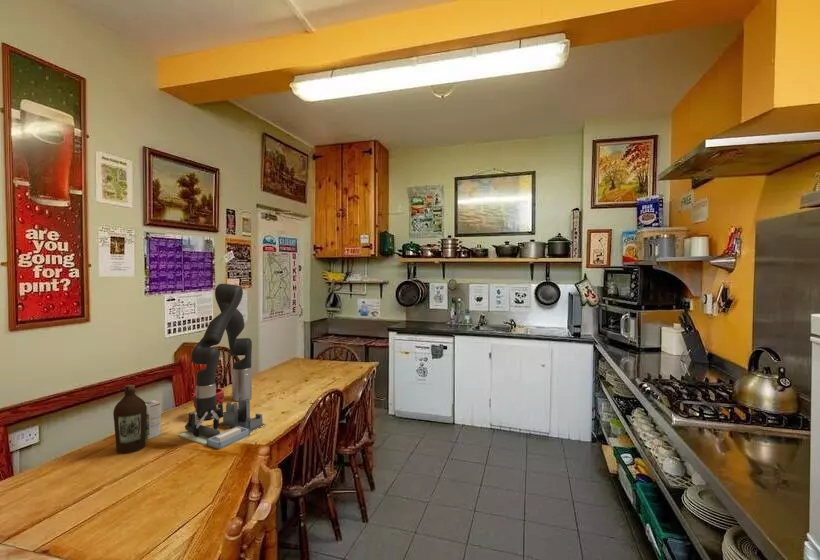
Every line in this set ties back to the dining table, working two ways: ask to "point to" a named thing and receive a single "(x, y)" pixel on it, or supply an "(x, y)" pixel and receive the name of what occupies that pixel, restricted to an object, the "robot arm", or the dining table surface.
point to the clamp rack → (241, 416)
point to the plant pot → (218, 398)
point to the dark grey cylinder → (205, 431)
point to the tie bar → (228, 434)
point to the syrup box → (153, 419)
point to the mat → (190, 436)
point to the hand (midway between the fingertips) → (206, 432)
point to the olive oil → (130, 422)
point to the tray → (228, 441)
